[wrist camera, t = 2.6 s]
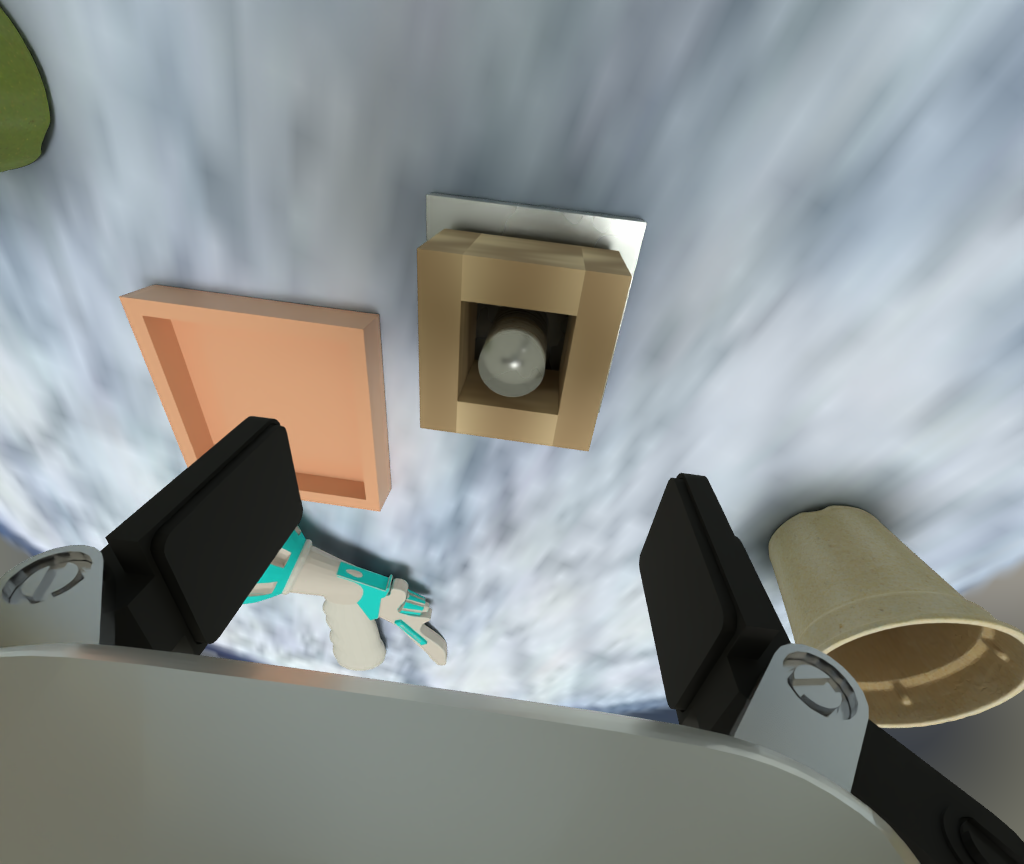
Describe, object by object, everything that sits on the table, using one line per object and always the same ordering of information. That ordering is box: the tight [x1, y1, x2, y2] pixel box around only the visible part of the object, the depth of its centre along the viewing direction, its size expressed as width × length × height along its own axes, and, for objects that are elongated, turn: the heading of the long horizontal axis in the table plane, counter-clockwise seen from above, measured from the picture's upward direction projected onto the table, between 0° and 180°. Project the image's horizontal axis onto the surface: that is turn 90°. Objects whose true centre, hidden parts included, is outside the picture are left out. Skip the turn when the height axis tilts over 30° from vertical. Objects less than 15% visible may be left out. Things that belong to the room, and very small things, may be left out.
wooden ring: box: [417, 229, 632, 451], centre depth 18 cm, size 7×7×4 cm
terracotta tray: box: [119, 285, 391, 511], centre depth 24 cm, size 12×12×2 cm
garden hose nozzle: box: [243, 525, 447, 671], centre depth 33 cm, size 7×18×20 cm
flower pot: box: [768, 506, 1024, 728], centre depth 24 cm, size 9×9×9 cm
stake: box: [426, 193, 647, 413], centre depth 18 cm, size 9×9×6 cm
